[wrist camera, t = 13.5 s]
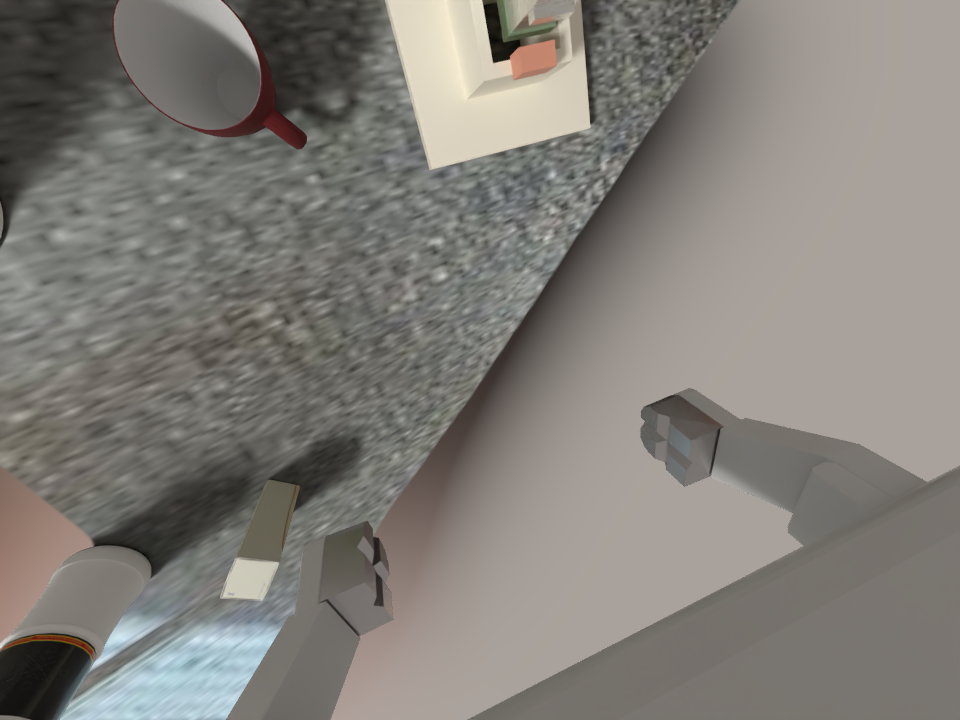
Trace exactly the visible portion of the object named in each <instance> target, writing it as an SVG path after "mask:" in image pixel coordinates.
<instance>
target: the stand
mask: <svg viewBox="0 0 960 720" xmlns="http://www.w3.org/2000/svg"><path fill="white" fill-rule="evenodd" d="M496 2H497V0H385V3H386V6H387V10H388V14H389V18H390V22H391V25H392V29H393V33H394V37H395V40H396V44H397V48H398V52H399V56H400V59H401V63H402V67H403V71H404V74H405V78H406V82H407V86H408V89H409V93H410V97H411V101H412V105H413V108H414V112H415V116H416V120H417V123H418V127H419V131H420V135H421V139H422V142H423V146H424V150H425V154H426V157H427V161H428V165H429V169H430V170H433V169H437V168H440V167H444V166H448V165H452V164H456V163H460V162H463V161H467V160H471V159H475V158H479V157H483V156H486V155H490V154H494V153H498V152H502V151H506V150H509V149H513V148H517V147H521V146H525V145H529V144H532V143H536V142H540V141H544V140H548V139H552V138H555V137H559V136H563V135H567V134H571V133H575V132H578V131H582V130H586V129H589V128H590V116H589V102H588V89H587V75H586V62H585V48H584V35H583V22H582V8H581V0H579V1H578V2H577V3H576V4H575V12H574V13H573V14H572V15H571V16H570V17H568V18H564V19H559V20H558V21H557V22H556V27H555V28H554V29H553V30H552V31H550V32H549V33H545V34H541V35H536V36H531V37H527V38H522V39H520V44H521V47H518V48H517V49H516V51H515V52H514V53H513V54H512V55H511V56H510V60H506V61H501V62H497V63H493V60H492V55H491V49H490V43H489V37H488V31H487V25H486V19H485V13H484V8H483V5H487V4H491V3H496Z"/></svg>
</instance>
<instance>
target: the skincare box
mask: <svg viewBox="0 0 960 720" xmlns="http://www.w3.org/2000/svg"><path fill="white" fill-rule="evenodd" d="M299 489H300V485H295V484H290V483H285V482H280V481H275V480H267V482H266V484H265V486H264V488H263V491H262V493H261V495H260V498H259V500H258V503H257V505H256V508H255V510H254V512H253V515H252V517H251V520H250V523H249V525H248V527H247V530H246V532H245V535H244V537H243V540H242V542H241V545H240V547H239V550H238V552H237V555H236V557H235V560H234V562H233V565H232V567H231V569H230V572H229V574H228V577H227V579H226V582H225V585H224V587H223V590H222V593H221V596H220V598H226V599H239V600H255V601H262V600H263V599H264V597H265V595H266V593H267V591H268V589H269V586H270V584H271V582H272V579H273V577H274V575H275V572H276V570H277V567H278V565H279V562H280V558H281V554H282V551H283V547H284V544H285V540H286V536H287V533H288V529H289V526H290V522H291V519H292V515H293V511H294V508H295V504H296V500H297V497H298V493H299Z"/></svg>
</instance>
